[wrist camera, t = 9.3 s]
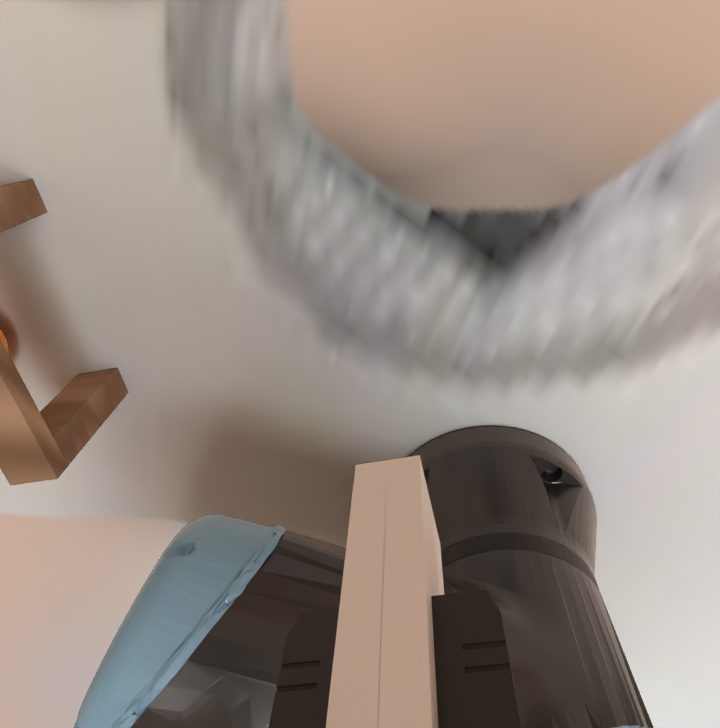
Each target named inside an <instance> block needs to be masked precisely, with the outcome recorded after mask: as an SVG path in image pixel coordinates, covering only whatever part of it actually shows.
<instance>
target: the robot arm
mask: <svg viewBox="0 0 720 728" xmlns="http://www.w3.org/2000/svg"><path fill="white" fill-rule="evenodd" d="M596 528H597V517H596V509H595V504H594V501H593V497H592V495H591V492H590V490H589V488H588V485H587V483H586V481H585V478H584V476H583V474H582V472H581V470H580V469H579V467H578V466H577V464H576V463H575V462H574V460H573V459H572V458H571V457H570V456H569V455H568V454H567V453H566V452H565V451H564V450H562V449H561V448H560V447H558V446H557V445H556V444H554V443H552V442H551V441H549V440H547V439H545V438H543V437H541V436H539V435H536V434H533V433H530V432H527V431H524V430H520V429H515V428H508V427H495V426H488V427H475V428H468V429H463V430H459V431H455V432H452V433H449V434H446V435H443V436H441V437H439V438H437V439H434V440H433V441H431V442H429V443H427V444H426V445H424V446H422V447H421V448H419V449H418V450H417V451H415V452H414V453H413V454H412V455H411V456H410V457H404V458H397V459H391V460H384V461H378V462H371V463H365V464H358V465H356V466H355V475H354V484H353V492H352V501H351V510H350V519H349V527H348V536H347V545H346V548H344V547H340V546H337V545H334V544H330V543H327V542H324V541H320V540H317V539H313V538H310V537H307V536H303V535H300V534H297V533H293V532H290V531H287V530H286V527H282V526H280V525H275V526H273V527H270V526H266V525H262V524H258V523H254V522H250V521H246V520H242V519H238V518H234V517H230V516H226V515H219V514H211V515H205V516H202V517H199V518H197V519H195V520H193V521H192V522H190V523H189V524H187V525H186V526H185V527H184V528H183V529H182V530H181V531H180V532H179V533H178V534H177V535H176V536H175V538H174V539H173V540H172V541H171V543H170V544H169V546H168V547H167V548H166V550H165V551H164V553H163V554H162V556H161V557H160V559H159V561H158V562H157V564H156V565H155V567H154V569H153V570H152V572H151V574H150V575H149V577H148V579H147V581H146V582H145V584H144V585H143V587H142V589H141V590H140V592H139V594H138V595H137V597H136V599H135V601H134V603H133V604H132V606H131V608H130V610H129V612H128V613H127V615H126V617H125V619H124V621H123V622H122V624H121V626H120V628H119V630H118V632H117V634H116V636H115V637H114V639H113V641H112V643H111V645H110V647H109V649H108V651H107V653H106V655H105V656H104V658H103V660H102V662H101V664H100V666H99V668H98V671H97V673H96V675H95V677H94V679H93V681H92V683H91V685H90V687H89V689H88V691H87V694H86V696H85V698H84V700H83V703H82V705H81V708H80V710H79V713H78V717H77V721H76V723H75V726H74V728H653V725H652V723H651V720H650V718H649V715H648V713H647V710H646V708H645V705H644V703H643V700H642V698H641V695H640V692H639V690H638V687H637V685H636V682H635V680H634V677H633V675H632V672H631V670H630V667H629V664H628V662H627V659H626V657H625V654H624V652H623V649H622V647H621V644H620V642H619V639H618V637H617V634H616V631H615V629H614V626H613V624H612V621H611V619H610V616H609V614H608V611H607V609H606V606H605V604H604V601H603V598H602V596H601V594H600V591H599V588H598V586H597V583H596V580H595V577H594V568H595V548H596Z"/></svg>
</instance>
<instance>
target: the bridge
mask: <svg viewBox="0 0 720 728" xmlns="http://www.w3.org/2000/svg"><path fill="white" fill-rule="evenodd" d="M46 212H47V210H46V208H45V206H44V204H43V202H42V199H41V197H40V195H39V193H38V190H37V188H36V186H35V184H34V182H33V179H31V180H26V181H22V182H18V183H13V184H9V185H5V186H0V232H2V231H5V230H7V229H9V228H12V227H14V226H16V225H18V224H21V223H23V222H25V221H28V220H30V219H32V218H35V217H37V216H39V215H41V214H44V213H46ZM127 393H128V391H127V389H126V386H125V384H124V382H123V380H122V378H121V375H120V373H119V371H118V369H117V368H114V369H108V370H102V371H96V372H91V373H85V374H79V375H77V376H76V377H75V378H74V379H73V380H72V381H71V382H70V383H69V384H68V385H67V386H66V387H65V388H64V389H63V390H62V391H61V392H60V393H59V394H58V395H57V396H56V397H55V398H54V399H53V400H52V401H51V402H50V403H49V404H48V405H47V406H46V407H45V408H44V409H43V410H42V411H41V412H39V410H38V408H37V406H36V404H35V403H34V401H33V399H32V397H31V395H30V393H29V391H28V389H27V388H26V386H25V384H24V382H23V380H22V378H21V376H20V375H19V373H18V371H17V369H16V367H15V365H14V363H13V361H12V360H11V358H10V356H9V354H8V352H7V350H6V348H5V347H4V345H3V343H2V341H1V339H0V469H1V470H2V472H3V474H4V475H5V477H6V479H7V480H8V482H9V484H10V485H17V484H23V483H30V482H37V481H44V480H51V479H58V477H59V476H60V475H61V474H62V473H63V471H64V470H65V469H66V468H67V466H68V465H69V464H70V463H71V462H72V460H73V459H74V458H75V457H76V455H77V454H78V453H79V452H80V451H81V449H82V448H83V447H84V446H85V445H86V443H87V442H88V441H89V440H90V438H91V437H92V436H93V435H94V434H95V432H96V431H97V430H98V429H99V427H100V426H101V425H102V424H103V423H104V421H105V420H106V419H107V418H108V416H109V415H110V414H111V413H112V412H113V410H114V409H115V408H116V407H117V405H118V404H119V403H120V402H121V401H122V399H123V398H124V397H125V396H126V394H127Z"/></svg>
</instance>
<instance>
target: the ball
mask: <svg viewBox="0 0 720 728" xmlns="http://www.w3.org/2000/svg"><path fill="white" fill-rule="evenodd" d="M0 339H1V341H2V343H3V345H4V347H5V348H6V350H7V352H8V354H9V349H8V344H7V340H6V338H5V336H4V334H3V332H2V331H1V329H0Z"/></svg>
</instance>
